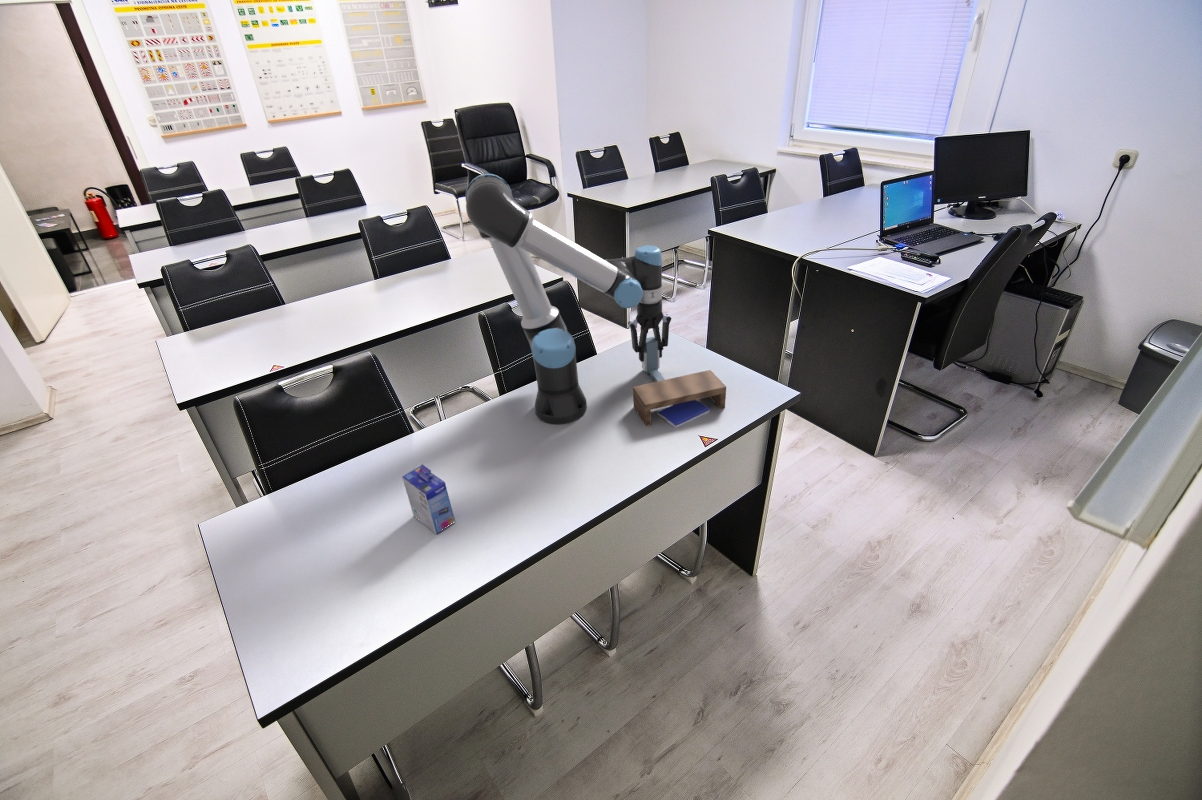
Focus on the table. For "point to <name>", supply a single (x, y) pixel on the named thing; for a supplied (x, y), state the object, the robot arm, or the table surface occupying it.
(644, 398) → the bench
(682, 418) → the blue flat slab
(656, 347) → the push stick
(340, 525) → the table surface
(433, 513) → the ink cartridge box
